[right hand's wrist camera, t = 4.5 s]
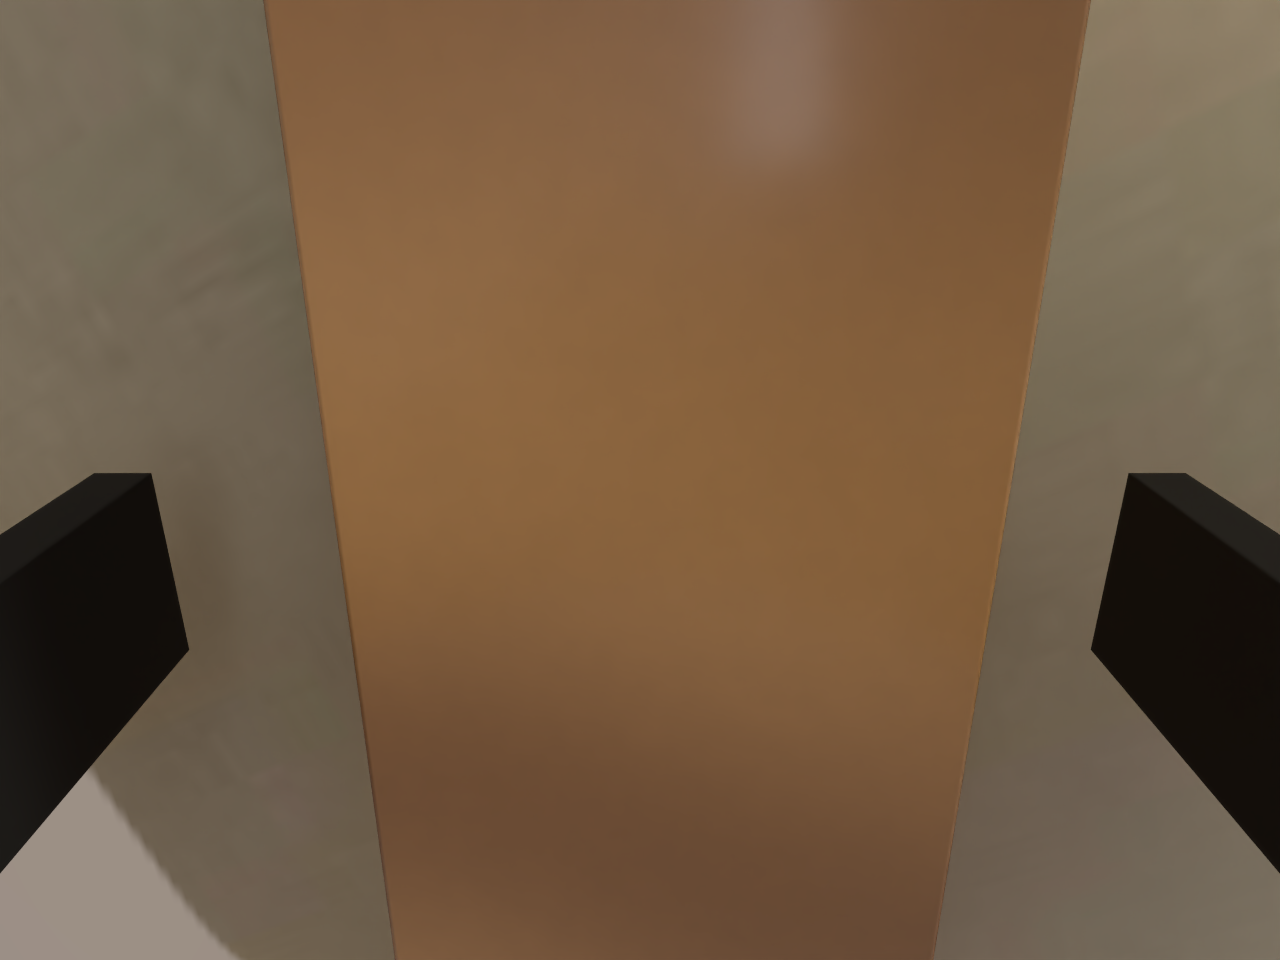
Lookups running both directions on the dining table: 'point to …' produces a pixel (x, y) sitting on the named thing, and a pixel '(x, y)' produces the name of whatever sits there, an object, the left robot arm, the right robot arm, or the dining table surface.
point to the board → (671, 446)
